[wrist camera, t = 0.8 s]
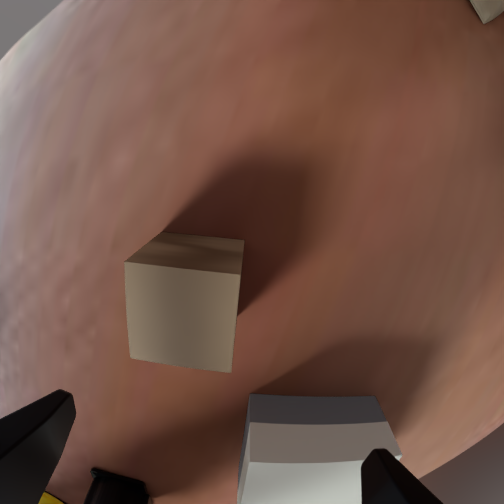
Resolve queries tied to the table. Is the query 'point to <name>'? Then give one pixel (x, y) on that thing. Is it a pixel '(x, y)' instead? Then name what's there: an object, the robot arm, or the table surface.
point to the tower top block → (309, 462)
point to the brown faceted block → (184, 300)
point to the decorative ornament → (488, 9)
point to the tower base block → (309, 412)
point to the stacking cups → (49, 499)
